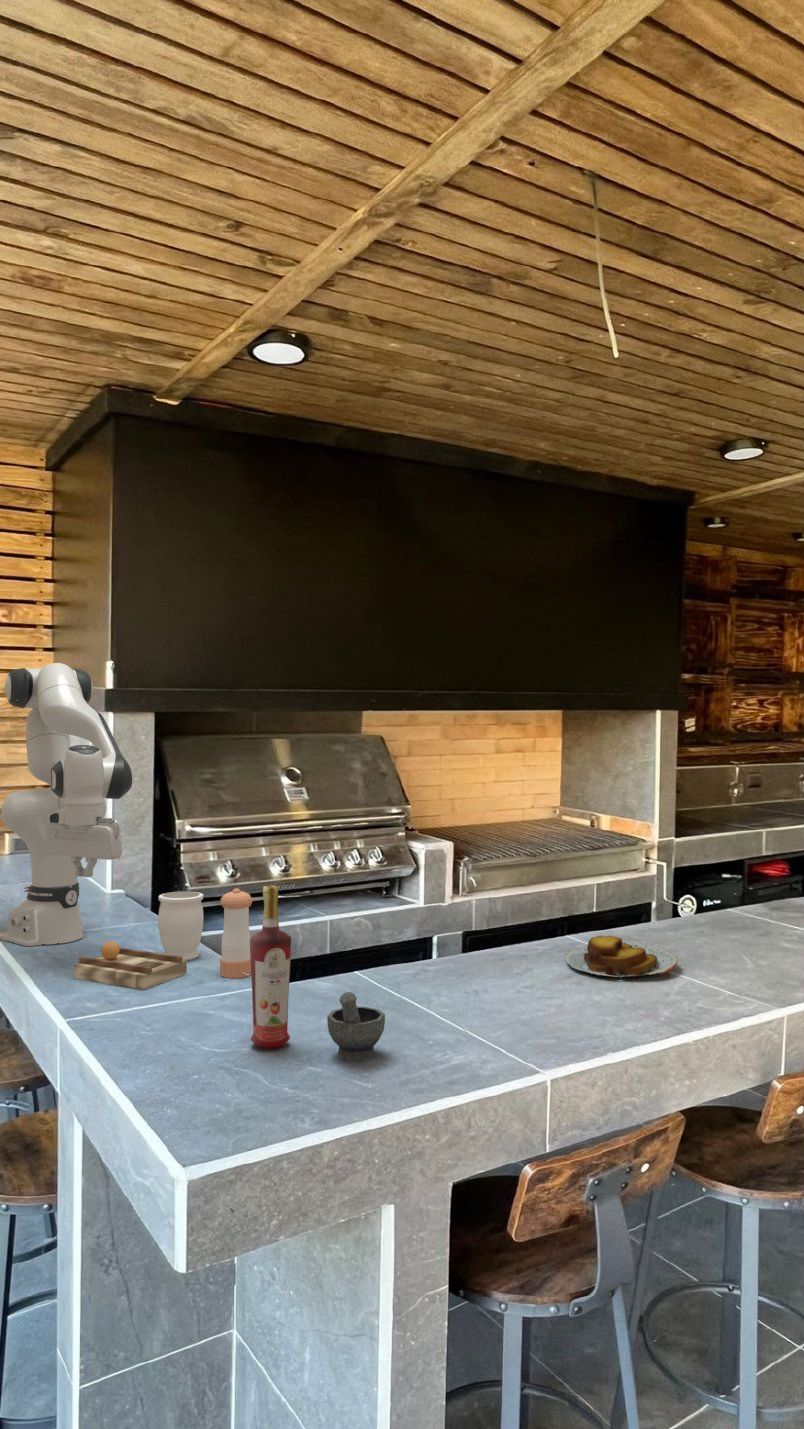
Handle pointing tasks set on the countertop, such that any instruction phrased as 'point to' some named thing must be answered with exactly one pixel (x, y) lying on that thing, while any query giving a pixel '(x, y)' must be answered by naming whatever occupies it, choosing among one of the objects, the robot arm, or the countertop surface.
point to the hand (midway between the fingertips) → (83, 876)
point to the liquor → (270, 977)
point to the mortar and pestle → (355, 1029)
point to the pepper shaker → (236, 935)
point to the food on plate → (620, 958)
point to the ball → (110, 950)
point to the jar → (181, 923)
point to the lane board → (131, 969)
